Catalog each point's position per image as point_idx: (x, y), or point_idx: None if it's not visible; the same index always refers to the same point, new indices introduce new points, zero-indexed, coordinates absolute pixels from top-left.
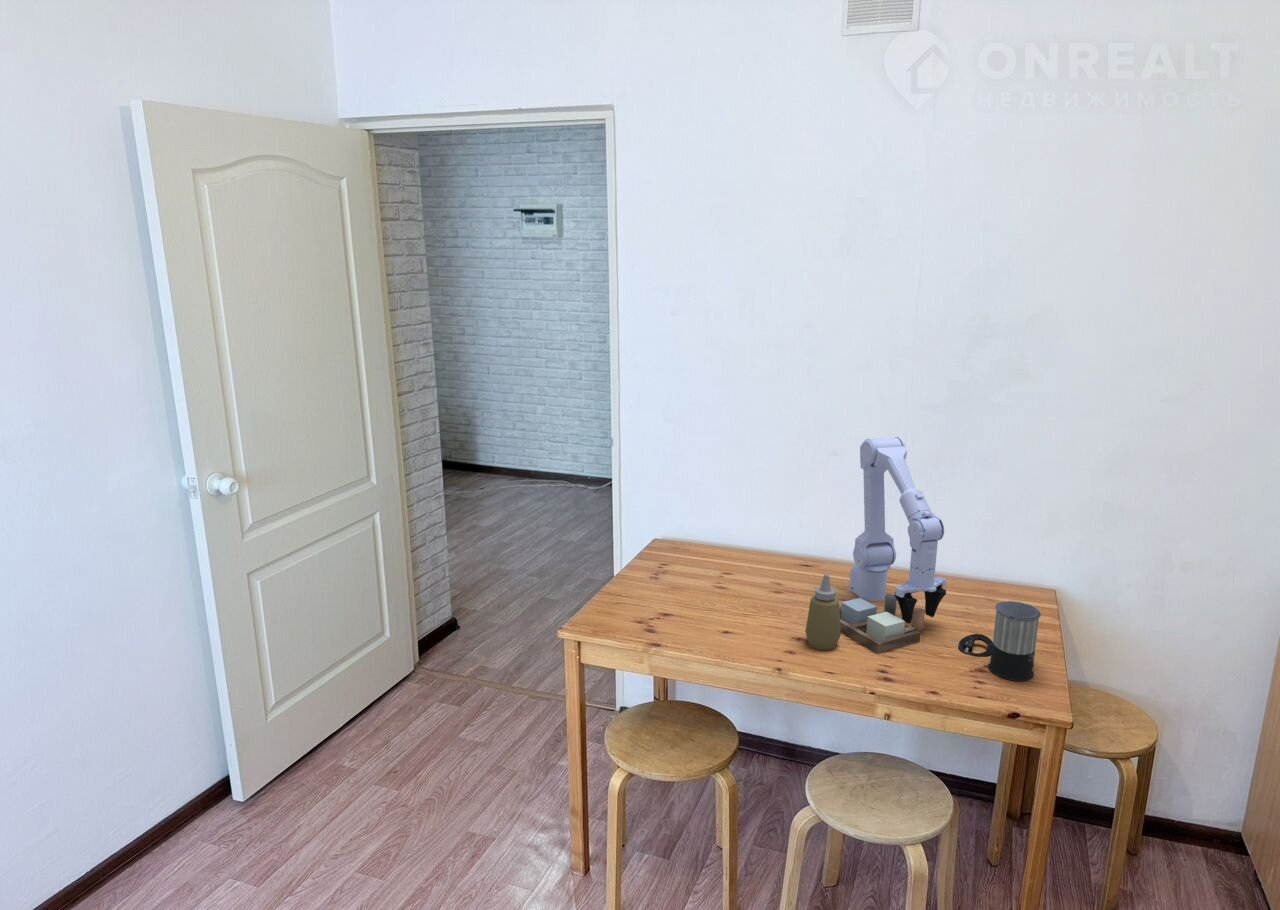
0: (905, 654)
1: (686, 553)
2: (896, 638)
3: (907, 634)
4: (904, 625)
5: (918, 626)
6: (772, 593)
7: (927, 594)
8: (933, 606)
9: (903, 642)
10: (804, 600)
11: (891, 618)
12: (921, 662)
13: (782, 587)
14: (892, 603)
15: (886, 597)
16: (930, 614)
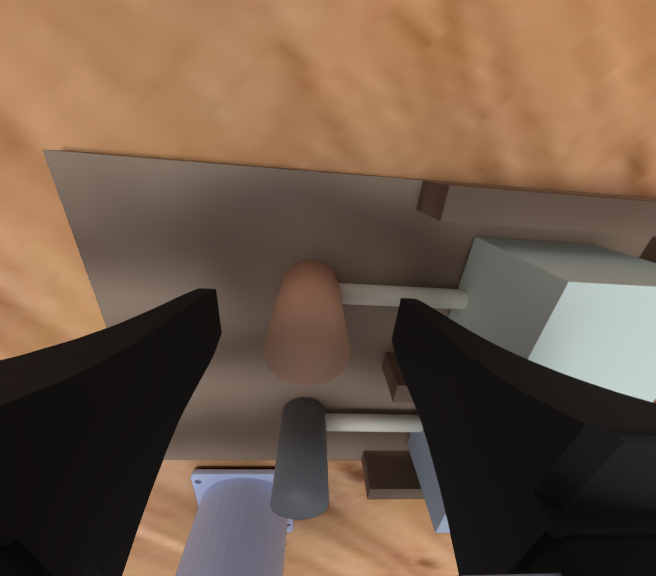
0: (562, 146)
1: None
2: (642, 209)
3: (539, 212)
4: (541, 268)
5: (330, 278)
6: (441, 562)
7: (140, 471)
8: (174, 334)
9: (561, 192)
10: (416, 531)
11: (579, 352)
12: (610, 4)
13: (396, 571)
14: (314, 461)
15: (327, 505)
16: (211, 308)
